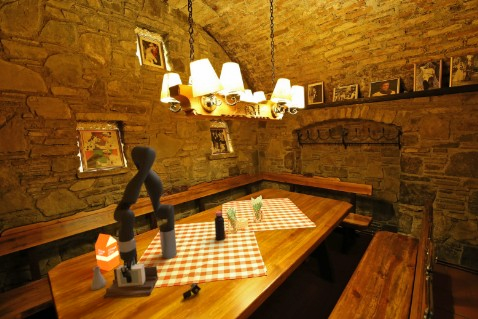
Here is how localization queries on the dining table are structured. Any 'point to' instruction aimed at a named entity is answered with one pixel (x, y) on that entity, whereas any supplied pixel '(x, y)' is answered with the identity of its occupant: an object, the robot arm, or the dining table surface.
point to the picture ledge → (134, 290)
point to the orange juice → (107, 252)
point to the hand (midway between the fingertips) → (131, 279)
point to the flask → (97, 279)
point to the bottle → (219, 226)
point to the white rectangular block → (132, 276)
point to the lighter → (193, 289)
